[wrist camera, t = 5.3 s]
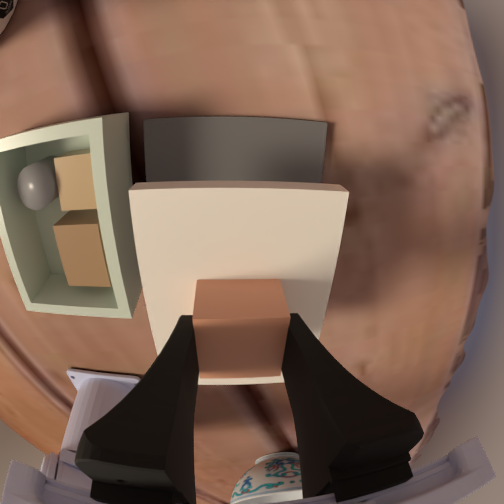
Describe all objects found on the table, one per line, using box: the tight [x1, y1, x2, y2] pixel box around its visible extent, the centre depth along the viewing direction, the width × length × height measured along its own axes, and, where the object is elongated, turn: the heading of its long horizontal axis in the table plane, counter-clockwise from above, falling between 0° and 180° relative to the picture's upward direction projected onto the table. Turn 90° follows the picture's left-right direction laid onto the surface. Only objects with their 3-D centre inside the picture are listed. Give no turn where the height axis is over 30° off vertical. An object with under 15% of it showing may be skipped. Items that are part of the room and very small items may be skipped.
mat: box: [144, 116, 327, 183], centre depth 19 cm, size 16×10×1 cm, turn 178°
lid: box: [129, 181, 349, 385], centre depth 13 cm, size 11×8×4 cm
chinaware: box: [230, 452, 303, 504], centre depth 33 cm, size 15×15×8 cm
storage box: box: [0, 112, 143, 318], centre depth 15 cm, size 11×8×4 cm
